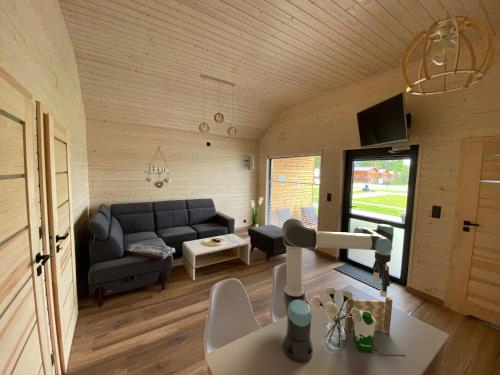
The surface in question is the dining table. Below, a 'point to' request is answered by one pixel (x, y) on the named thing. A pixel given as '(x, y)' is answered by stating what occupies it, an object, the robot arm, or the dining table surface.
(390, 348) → the keeper pad
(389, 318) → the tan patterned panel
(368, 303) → the door
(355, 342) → the soya milk
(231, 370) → the dining table surface
